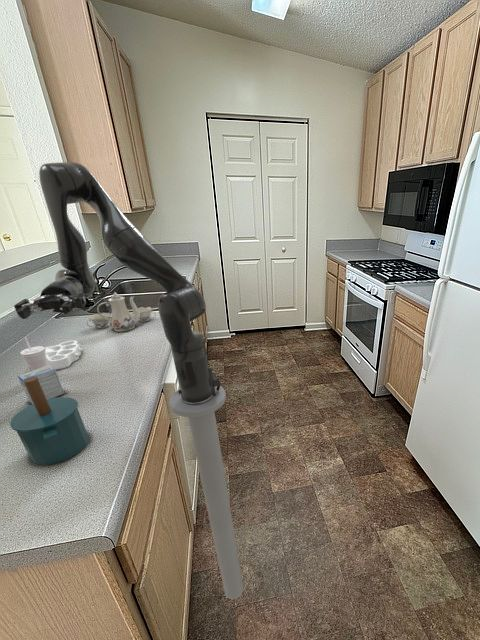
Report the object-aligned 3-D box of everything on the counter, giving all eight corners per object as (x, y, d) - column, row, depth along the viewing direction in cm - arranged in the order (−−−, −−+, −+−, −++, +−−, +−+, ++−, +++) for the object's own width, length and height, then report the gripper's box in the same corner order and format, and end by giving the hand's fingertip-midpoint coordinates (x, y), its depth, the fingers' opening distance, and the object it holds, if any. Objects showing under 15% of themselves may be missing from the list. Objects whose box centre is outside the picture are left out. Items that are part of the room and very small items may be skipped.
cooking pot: (83, 420, 87) (71, 390, 83) (94, 455, 75) (81, 422, 71) (30, 438, 81) (14, 406, 77) (33, 480, 69) (14, 445, 65)
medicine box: (58, 389, 101) (48, 364, 97) (65, 393, 99) (55, 368, 95) (28, 401, 96) (16, 375, 92) (34, 406, 93) (22, 380, 89)
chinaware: (154, 318, 162) (146, 284, 156) (161, 325, 149) (152, 288, 143) (89, 330, 150) (77, 293, 143) (89, 339, 136) (76, 299, 130)
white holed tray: (46, 352, 126) (89, 346, 130) (28, 373, 111) (78, 366, 115) (43, 343, 124) (87, 338, 128) (24, 364, 109) (75, 357, 113)
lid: (75, 395, 82) (61, 360, 77) (82, 418, 73) (68, 381, 69) (12, 414, 75) (-7, 377, 71) (11, 442, 66) (-10, 402, 62)
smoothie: (39, 372, 111) (22, 334, 105) (59, 371, 112) (44, 333, 105) (27, 382, 105) (9, 342, 99) (48, 381, 106) (31, 341, 100)
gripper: (26, 284, 88) (0, 300, 74) (86, 279, 92) (72, 293, 78) (36, 311, 91) (14, 331, 78) (94, 305, 95) (83, 323, 82)
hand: (43, 312), depth 78 cm, fingers open, 8 cm apart
